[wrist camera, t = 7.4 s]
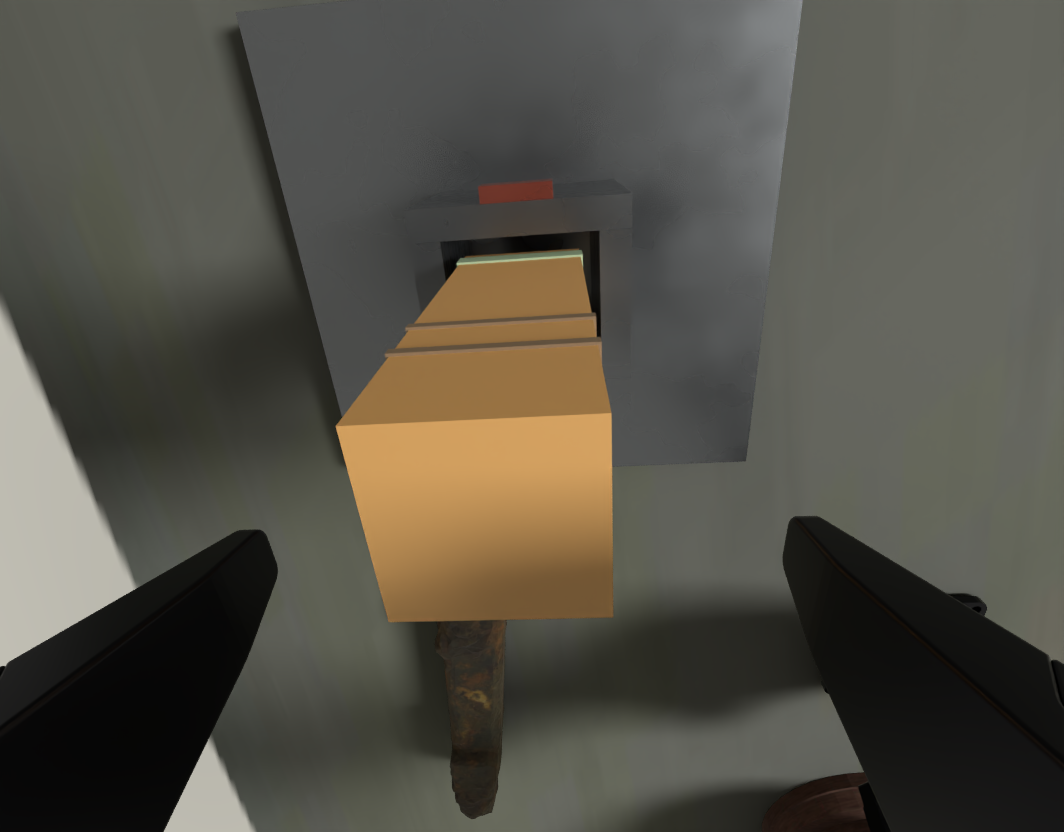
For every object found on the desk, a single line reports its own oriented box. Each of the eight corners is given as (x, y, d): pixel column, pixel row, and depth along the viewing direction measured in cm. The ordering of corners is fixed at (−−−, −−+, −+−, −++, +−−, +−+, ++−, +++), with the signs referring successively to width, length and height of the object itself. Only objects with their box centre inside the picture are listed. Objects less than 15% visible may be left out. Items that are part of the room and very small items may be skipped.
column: (580, 246, 14) (616, 408, 6) (584, 357, 16) (617, 620, 7) (463, 254, 14) (330, 422, 6) (477, 363, 16) (385, 625, 7)
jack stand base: (791, -35, 16) (912, -123, 10) (736, 446, 23) (791, 540, 18) (255, 20, 17) (114, -35, 11) (366, 461, 24) (312, 554, 19)
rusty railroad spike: (434, 499, 25) (409, 571, 21) (520, 506, 25) (513, 579, 21) (440, 746, 34) (424, 830, 30) (504, 751, 34) (496, 837, 30)
